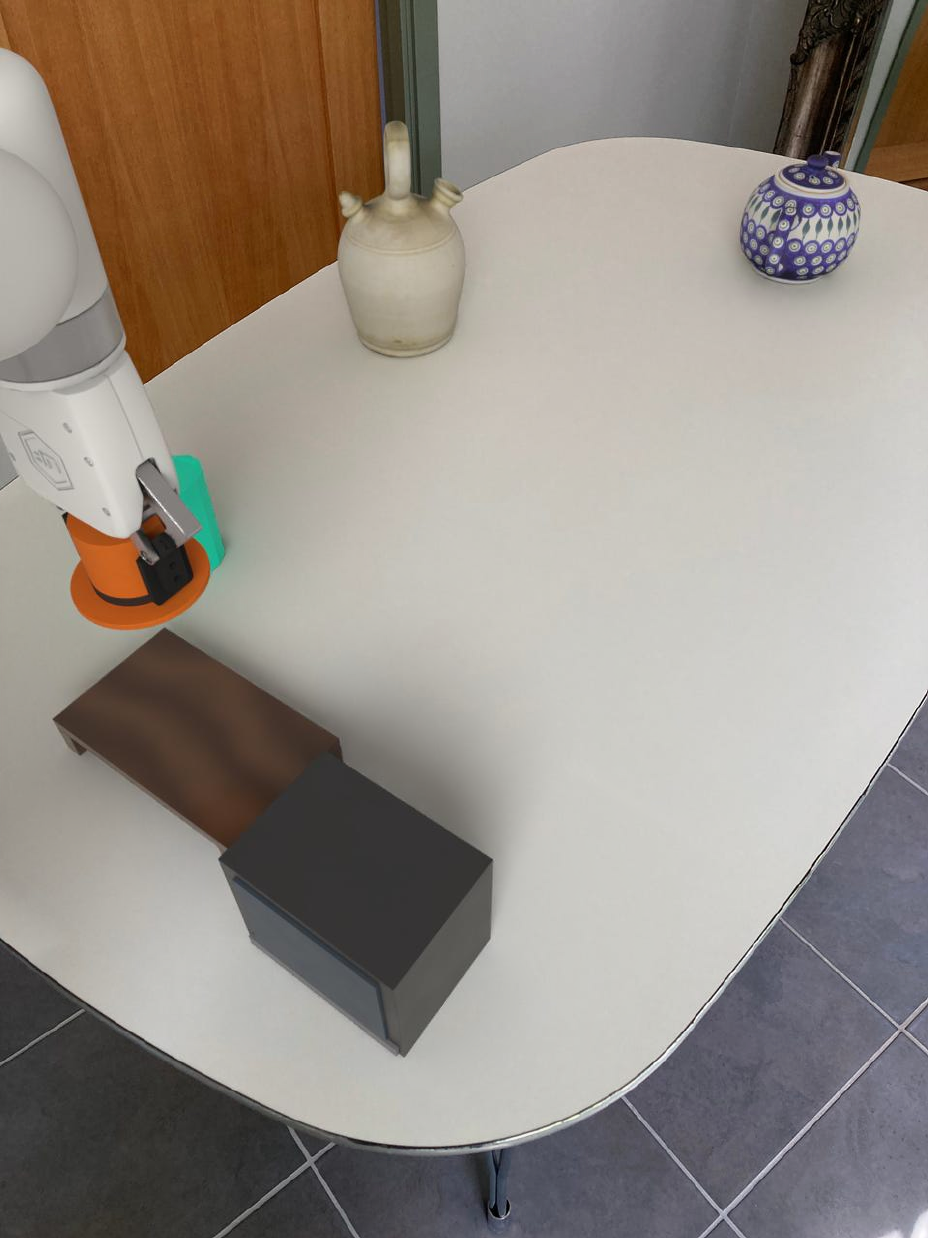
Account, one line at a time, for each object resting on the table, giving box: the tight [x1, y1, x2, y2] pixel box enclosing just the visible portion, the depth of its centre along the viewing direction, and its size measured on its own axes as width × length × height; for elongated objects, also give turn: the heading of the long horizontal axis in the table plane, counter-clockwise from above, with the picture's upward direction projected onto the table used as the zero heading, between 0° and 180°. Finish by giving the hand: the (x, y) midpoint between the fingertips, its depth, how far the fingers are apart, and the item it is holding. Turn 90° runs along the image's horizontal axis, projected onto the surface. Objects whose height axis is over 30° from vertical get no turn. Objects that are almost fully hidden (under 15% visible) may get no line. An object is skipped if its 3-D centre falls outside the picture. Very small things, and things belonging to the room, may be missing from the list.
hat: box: [66, 498, 211, 631], centre depth 61 cm, size 9×9×6 cm
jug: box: [337, 120, 467, 358], centre depth 112 cm, size 15×16×25 cm
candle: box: [171, 454, 226, 572], centre depth 90 cm, size 6×6×12 cm
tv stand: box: [52, 627, 345, 856], centre depth 77 cm, size 12×20×4 cm, turn 54°
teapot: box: [739, 150, 862, 285], centre depth 126 cm, size 25×15×15 cm, turn 148°
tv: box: [217, 750, 494, 1058], centre depth 64 cm, size 10×14×12 cm
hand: (136, 566), depth 63 cm, fingers closed on hat, 6 cm apart
